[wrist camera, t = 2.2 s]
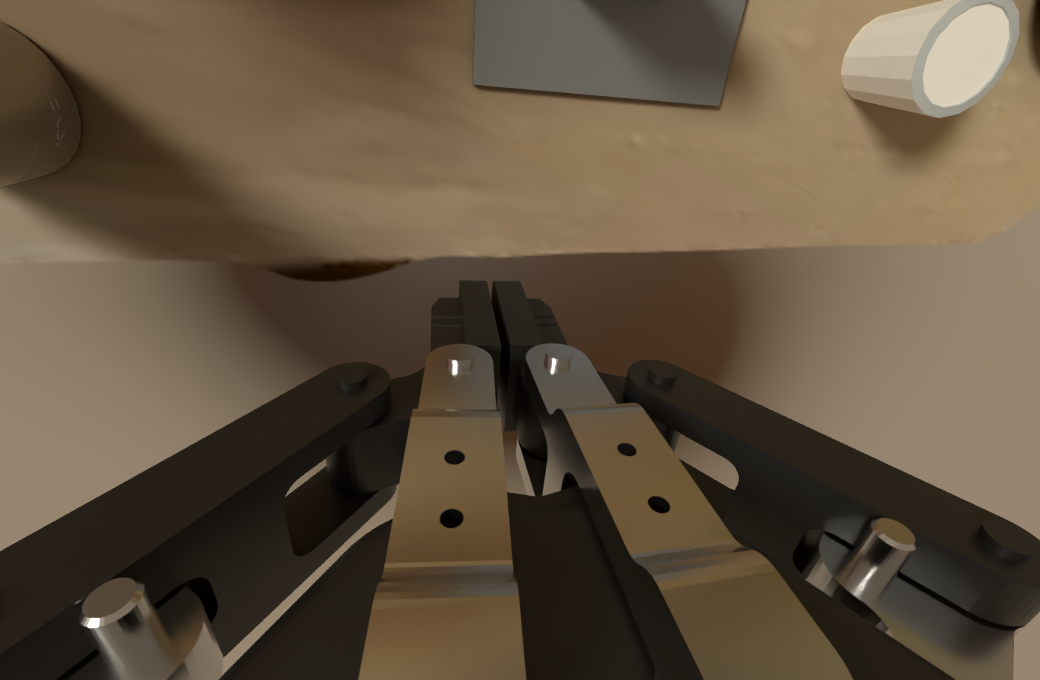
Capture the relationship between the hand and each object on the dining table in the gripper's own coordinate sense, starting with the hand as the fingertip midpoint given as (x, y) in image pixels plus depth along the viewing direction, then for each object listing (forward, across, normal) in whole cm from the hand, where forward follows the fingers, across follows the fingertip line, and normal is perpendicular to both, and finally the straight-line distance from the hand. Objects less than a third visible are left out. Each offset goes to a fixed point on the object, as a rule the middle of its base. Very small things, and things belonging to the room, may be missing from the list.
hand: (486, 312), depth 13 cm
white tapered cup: (+25, -31, -9) cm, 41 cm away
